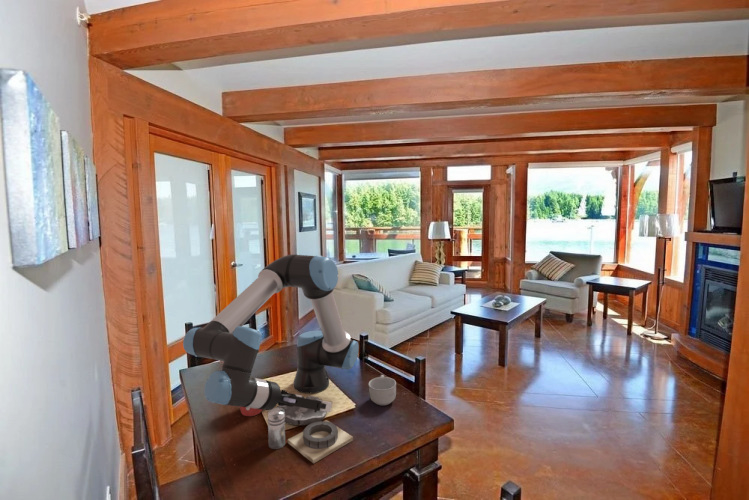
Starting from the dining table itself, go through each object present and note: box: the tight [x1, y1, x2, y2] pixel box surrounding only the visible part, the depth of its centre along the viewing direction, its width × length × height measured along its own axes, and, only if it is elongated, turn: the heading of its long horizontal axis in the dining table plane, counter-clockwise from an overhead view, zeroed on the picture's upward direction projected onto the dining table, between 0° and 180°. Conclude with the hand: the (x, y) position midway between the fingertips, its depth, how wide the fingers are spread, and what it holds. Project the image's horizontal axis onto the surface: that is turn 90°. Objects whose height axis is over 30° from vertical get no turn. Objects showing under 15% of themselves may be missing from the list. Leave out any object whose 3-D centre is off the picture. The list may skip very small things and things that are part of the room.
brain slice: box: [275, 395, 328, 426], centre depth 138 cm, size 20×17×3 cm
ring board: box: [287, 419, 354, 464], centre depth 122 cm, size 14×16×4 cm
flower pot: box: [239, 407, 263, 417], centre depth 139 cm, size 11×11×10 cm
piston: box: [267, 407, 286, 450], centre depth 120 cm, size 5×5×11 cm
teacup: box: [368, 374, 397, 406], centre depth 149 cm, size 14×11×8 cm
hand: (314, 403), depth 117 cm, fingers open, 13 cm apart
